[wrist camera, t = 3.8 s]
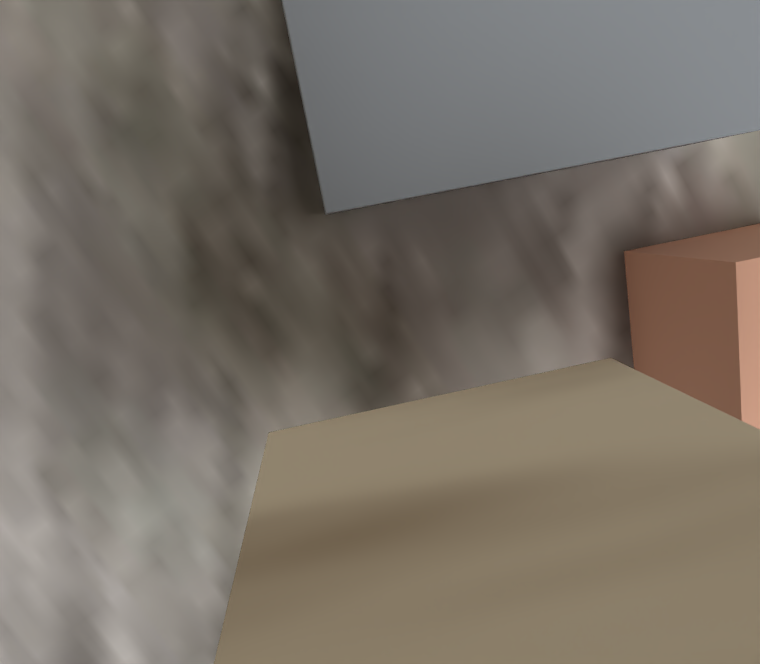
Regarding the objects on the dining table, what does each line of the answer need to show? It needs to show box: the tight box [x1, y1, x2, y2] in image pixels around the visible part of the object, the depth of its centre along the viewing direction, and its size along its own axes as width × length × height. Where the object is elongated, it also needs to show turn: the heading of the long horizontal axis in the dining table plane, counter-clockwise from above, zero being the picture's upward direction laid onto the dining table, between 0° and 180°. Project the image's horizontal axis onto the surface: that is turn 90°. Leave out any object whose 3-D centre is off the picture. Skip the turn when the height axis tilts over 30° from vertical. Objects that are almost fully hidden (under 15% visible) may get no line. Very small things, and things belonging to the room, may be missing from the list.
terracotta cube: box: [624, 224, 760, 429], centre depth 16 cm, size 5×5×5 cm
